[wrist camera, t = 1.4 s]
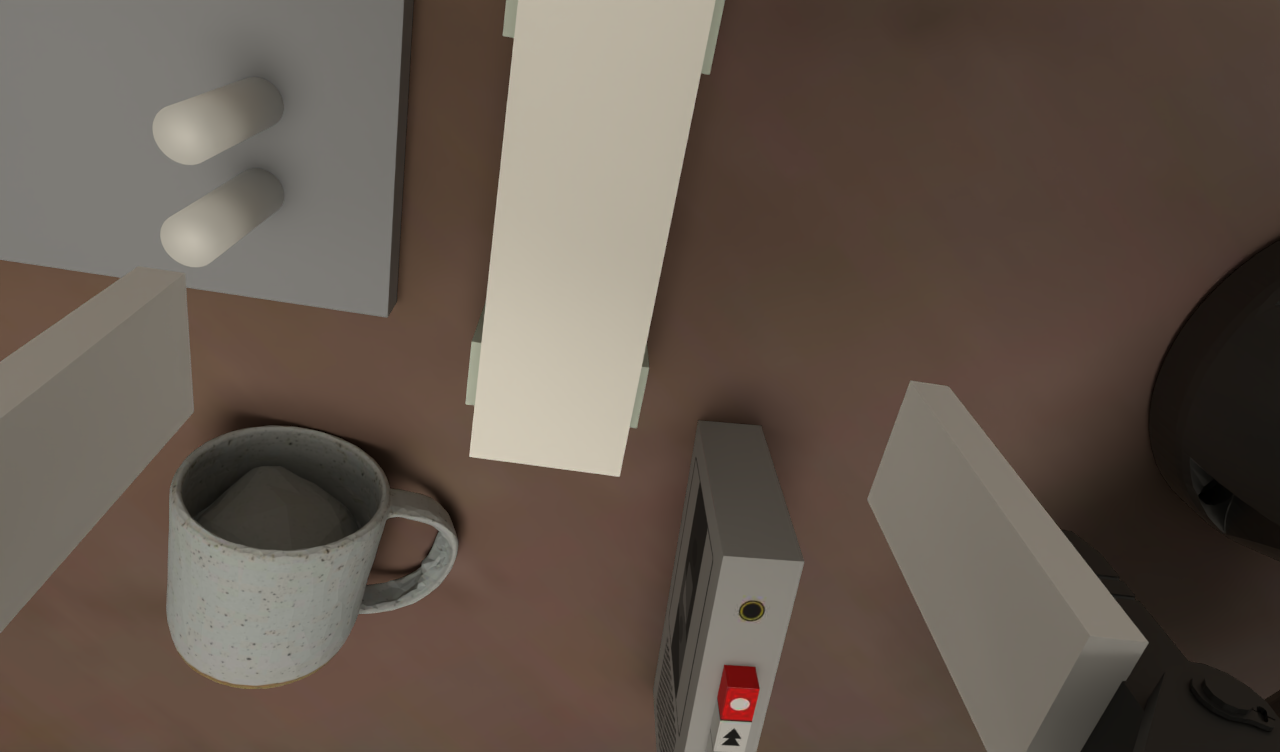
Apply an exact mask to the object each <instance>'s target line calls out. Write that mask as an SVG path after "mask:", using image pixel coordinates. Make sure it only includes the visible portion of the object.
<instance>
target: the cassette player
mask: <svg viewBox="0 0 1280 752" xmlns="http://www.w3.org/2000/svg"><path fill="white" fill-rule="evenodd" d="M803 565H804V559H803V556H802V553H801V550H800V547H799V544H798V541H797V537H796V534H795V531H794V528H793V525H792V522H791V518H790V515H789V512H788V509H787V506H786V503H785V499H784V496H783V493H782V490H781V487H780V484H779V480H778V477H777V474H776V471H775V468H774V465H773V461H772V458H771V455H770V452H769V449H768V446H767V443H766V439H765V436H764V433H763V430H762V427H761V426H759V425H747V424H735V423H723V422H711V421H700V420H698V424H697V430H696V436H695V442H694V448H693V454H692V460H691V466H690V472H689V478H688V484H687V490H686V496H685V502H684V508H683V514H682V520H681V526H680V532H679V538H678V544H677V550H676V556H675V562H674V568H673V574H672V580H671V586H670V592H669V598H668V604H667V610H666V616H665V622H664V628H663V634H662V640H661V646H660V652H659V658H658V664H657V670H656V676H655V682H654V688H653V695H654V713H655V730H656V747H657V752H756V751H757V747H758V743H759V739H760V735H761V731H762V727H763V723H764V719H765V715H766V711H767V707H768V703H769V699H770V695H771V691H772V687H773V683H774V679H775V675H776V671H777V667H778V664H779V660H780V656H781V652H782V648H783V644H784V640H785V636H786V632H787V628H788V624H789V620H790V616H791V612H792V608H793V604H794V600H795V596H796V592H797V588H798V584H799V580H800V577H801V573H802V569H803Z"/></svg>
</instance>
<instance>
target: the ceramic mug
mask: <svg viewBox="0 0 1280 752" xmlns="http://www.w3.org/2000/svg"><path fill="white" fill-rule="evenodd" d="M392 517H403V518H407V519H410V520H415V521H419V522H423V523H426V524H429V525H432V526H434V527H435V528H436V529H437V530H438V531H439V532H438V535H437V537H436V539H435V542H434V544H433V547H432V549H431V551H430V553H429V554H428V556H427V557H426V558H425V559H424V560H423V561H422V566H421V567H420V568H419V569H417V570H416V571H414V572H412V573H410V574H408V575H406V576H404V577H402V578H399V579H396V580H391V581H389V582H386V583H380V584H373V585H366V583H367V580H368V576H369V573H370V571H371V568H372V565H373V562H374V559H375V556H376V553H377V549H378V545H379V542H380V539H381V536H382V533H383V530H384V526H385V523H386V520H387V519H389V518H392ZM457 550H458V538H457V535H456V532H455V529H454V526H453V524H452V521H451V519H450V516H449V514H448V513H447V511H446V510H445V509H444V508H443V507H442V506H441V505H440V504H439V503H438V502H437V501H435V500H434V499H432V498H431V497H428V496H425V495H423V494H419V493H414V492H410V491H405V490H401V489H390V486H389V483H388V480H387V477H386V475H385V473H384V472H383V470H382V469H381V467H380V466H379V465H378V463H377V462H376V461H375V460H374V459H373V458H372V457H371V456H369V455H368V454H367V453H366V452H364V451H363V450H362V449H360V448H359V447H357V446H356V445H353V444H351V443H349V442H347V441H345V440H343V439H341V438H339V437H336V436H333V435H330V434H327V433H324V432H321V431H316V430H312V429H308V428H300V427H295V426H275V425H269V426H261V427H250V428H244V429H239V430H235V431H232V432H229V433H226V434H223V435H221V436H219V437H216V438H214V439H212V440H210V441H208V442H206V443H205V444H203V445H202V446H200V447H198V448H197V449H196V450H195V451H193V452H192V453H191V454H190V455H189V456H188V457H187V458H186V459H185V460H184V461H183V463H182V465H181V466H180V467H179V468H178V470H177V471H176V473H175V475H174V477H173V480H172V484H171V487H170V497H169V541H168V585H167V606H166V610H167V621H168V625H169V628H170V632H171V636H172V639H173V642H174V644H175V646H176V649H177V651H178V653H179V655H180V656H181V657H182V659H183V660H184V661H185V662H186V663H187V664H188V665H189V666H190V667H191V668H192V669H193V670H195V671H196V672H198V673H199V674H201V675H203V676H205V677H207V678H209V679H211V680H213V681H215V682H217V683H220V684H224V685H228V686H231V687H237V688H244V689H259V688H272V687H278V686H282V685H286V684H289V683H293V682H295V681H298V680H301V679H303V678H305V677H307V676H309V675H311V674H313V673H315V672H317V671H318V670H319V669H321V668H322V667H323V666H324V665H326V664H327V663H328V662H329V661H330V660H331V659H332V658H333V657H334V656H335V655H336V654H337V652H338V651H339V650H340V648H341V647H342V645H343V644H344V642H345V641H346V639H347V637H348V636H349V634H350V632H351V630H352V628H353V626H354V623H355V621H356V619H357V616H358V614H370V613H379V612H384V611H391V610H395V609H398V608H401V607H404V606H407V605H411V604H413V603H415V602H417V601H419V600H420V599H422V598H423V597H425V596H427V595H428V594H429V593H431V592H432V591H433V590H434V589H436V588H437V587H438V586H439V585H440V584H441V583H442V582H443V580H444V579H445V578H446V576H447V575H448V573H449V572H450V570H451V569H452V566H453V564H454V561H455V559H456V556H457Z"/></svg>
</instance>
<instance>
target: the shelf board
mask: <svg viewBox="0 0 1280 752" xmlns="http://www.w3.org/2000/svg"><path fill="white" fill-rule="evenodd" d="M715 1H716V0H518V5H517V15H516V24H515V34H514V43H513V52H512V62H511V71H510V80H509V90H508V99H507V108H506V118H505V127H504V136H503V146H502V155H501V165H500V174H499V183H498V193H497V202H496V211H495V221H494V230H493V239H492V249H491V258H490V268H489V277H488V286H487V296H486V305H485V314H484V324H483V333H482V342H481V352H480V361H479V371H478V380H477V389H476V399H475V408H474V417H473V427H472V436H471V445H470V455H469V457H475V458H483V459H490V460H498V461H505V462H513V463H520V464H528V465H535V466H543V467H550V468H558V469H565V470H573V471H580V472H588V473H595V474H603V475H610V476H618V477H620V472H621V467H622V462H623V457H624V452H625V447H626V442H627V437H628V432H629V427H630V422H631V418H632V413H633V408H634V403H635V398H636V393H637V388H638V383H639V378H640V373H641V368H642V363H643V358H644V353H645V348H646V343H647V338H648V333H649V328H650V323H651V318H652V313H653V309H654V304H655V299H656V294H657V289H658V284H659V279H660V274H661V269H662V264H663V259H664V254H665V249H666V244H667V239H668V234H669V229H670V224H671V219H672V214H673V209H674V204H675V200H676V195H677V190H678V185H679V180H680V175H681V170H682V165H683V160H684V155H685V150H686V145H687V140H688V135H689V130H690V125H691V120H692V115H693V110H694V105H695V100H696V95H697V91H698V86H699V81H700V76H701V71H702V66H703V61H704V56H705V51H706V46H707V41H708V36H709V31H710V26H711V21H712V16H713V11H714V6H715Z"/></svg>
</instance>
